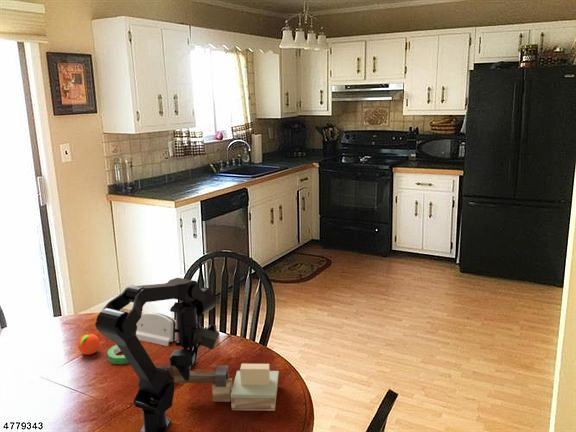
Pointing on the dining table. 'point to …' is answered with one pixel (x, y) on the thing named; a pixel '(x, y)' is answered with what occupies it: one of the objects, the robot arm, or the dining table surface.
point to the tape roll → (116, 356)
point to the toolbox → (223, 394)
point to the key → (195, 376)
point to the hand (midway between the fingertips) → (190, 372)
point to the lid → (255, 382)
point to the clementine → (88, 344)
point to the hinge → (156, 328)
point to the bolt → (169, 368)
